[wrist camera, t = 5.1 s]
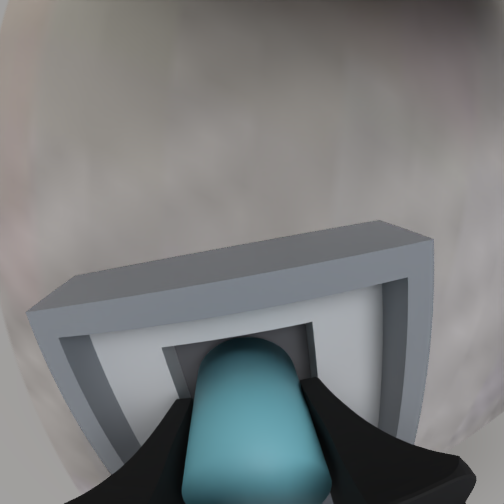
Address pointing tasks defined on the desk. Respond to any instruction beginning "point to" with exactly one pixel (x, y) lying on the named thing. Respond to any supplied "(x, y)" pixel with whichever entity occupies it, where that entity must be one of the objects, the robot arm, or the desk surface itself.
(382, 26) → the desk surface
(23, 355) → the desk surface
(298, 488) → the peg
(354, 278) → the socket box
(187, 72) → the desk surface
